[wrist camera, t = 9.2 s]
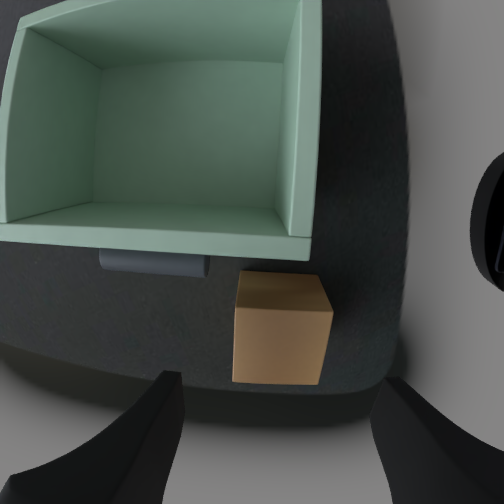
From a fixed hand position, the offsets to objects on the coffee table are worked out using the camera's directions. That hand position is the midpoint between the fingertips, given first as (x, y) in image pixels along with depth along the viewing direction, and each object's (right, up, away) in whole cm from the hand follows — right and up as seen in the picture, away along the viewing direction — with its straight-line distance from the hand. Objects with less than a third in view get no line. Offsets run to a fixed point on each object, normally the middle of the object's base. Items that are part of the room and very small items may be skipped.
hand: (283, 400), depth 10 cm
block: (0, +2, +7) cm, 7 cm away
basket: (-4, +10, +4) cm, 12 cm away
